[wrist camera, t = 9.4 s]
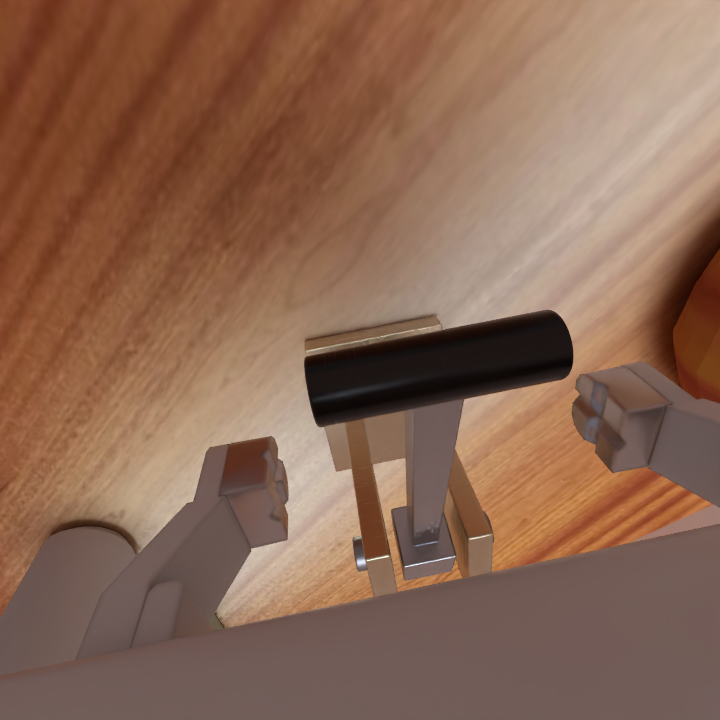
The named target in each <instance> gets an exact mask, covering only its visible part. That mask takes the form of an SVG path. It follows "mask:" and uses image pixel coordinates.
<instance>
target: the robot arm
mask: <svg viewBox="0 0 720 720" xmlns="http://www.w3.org/2000/svg"><path fill="white" fill-rule="evenodd" d="M575 389H576V390H577V391H578V392H579V394H580V395H579V396H578V397H577V399H576V400H575V401H574V402H573V406H572V417H573V421H574V425H575V427H576V429H577V431H578V432H579V434H580V435H581V436H582V437H583V439H584V440H586V441H589V442H591V443H593V444H595V445H596V448H595V453H596V454H597V455H598V457H599V458H600V459H601V460H602V461H603V462H604V464H605V465H606V466H607V467H608V468H609V470H610V471H611V472H612V473H615V472H620V471H626V470H631V469H637V468H643V467H648V466H649V467H648V468H649V469H651V470H652V471H654V472H656V473H658V474H660V475H662V476H663V477H665V478H667V479H669V480H671V481H672V482H674V483H676V484H678V485H680V486H682V487H683V488H685V489H687V490H689V491H691V492H692V493H694V494H696V495H698V496H700V497H702V498H703V499H705V500H707V501H709V502H711V503H713V504H714V505H716V506H718V507H720V403H716V402H713V401H710V400H707V399H698V400H696V399H695V398H694V397H692V396H691V395H690V394H688V393H687V392H686V391H684V390H683V389H682V388H680V387H679V386H678V385H676V384H675V383H674V382H672V381H671V380H670V379H668V378H667V377H666V376H664V375H663V374H662V373H660V372H659V371H658V370H656V369H655V368H654V367H652V366H651V365H650V364H649V363H646V362H642V361H640V362H635V363H631V364H626V365H622V366H620V367H614V368H609V369H605V370H600V371H595V372H590V373H585V374H580V375H579V377H578V378H577V380H576V386H575ZM287 501H288V481H287V475H286V471H285V467H284V464H283V461H281V460H280V459H278V447H277V444H276V442H275V439H274V438H273V437H272V436H269V437H264V438H258V439H252V440H247V441H241V442H235V443H231V444H226V445H220V446H215V447H210V448H209V449H208V450H207V452H206V455H205V459H204V463H203V466H202V470H201V474H200V478H199V482H198V486H197V490H196V494H195V498H194V501H193V502H190V503H187V504H186V505H185V506H184V507H183V508H182V509H181V510H180V511H179V512H178V513H177V514H176V515H175V516H174V517H173V518H172V520H171V521H170V522H169V523H168V524H167V525H166V526H165V527H164V528H163V529H162V530H161V531H160V532H159V533H158V534H157V535H156V536H155V537H154V538H153V539H152V540H151V542H150V543H149V544H148V545H147V546H146V547H145V548H144V549H143V550H142V551H141V552H140V553H139V554H138V555H137V556H136V557H135V558H134V559H133V560H132V561H131V563H130V564H129V565H128V566H127V567H126V568H125V569H124V570H123V571H122V572H121V573H120V574H119V575H118V576H117V577H116V578H115V579H114V580H113V581H112V582H111V584H110V585H109V586H108V587H107V588H106V589H105V590H104V591H103V592H102V593H101V595H100V597H99V600H98V603H97V605H96V608H95V610H94V613H93V615H92V618H91V620H90V623H89V625H88V628H87V630H86V633H85V635H84V638H83V640H82V643H81V645H80V648H79V650H78V653H77V655H76V658H75V660H73V661H69V662H64V663H59V664H54V665H50V666H45V667H40V668H36V669H31V670H26V671H21V672H17V673H12V674H7V675H3V676H0V720H720V524H717V525H713V526H707V527H702V528H698V529H693V530H688V531H684V532H679V533H674V534H670V535H665V536H660V537H656V538H651V539H647V540H641V541H637V542H632V543H627V544H623V545H618V546H613V547H608V548H604V549H599V550H594V551H590V552H585V553H580V554H576V555H571V556H566V557H561V558H557V559H552V560H547V561H542V562H538V563H533V564H528V565H523V566H519V567H514V568H509V569H504V570H500V571H495V572H490V573H485V574H481V575H476V576H471V577H466V578H462V579H457V580H452V581H447V582H443V583H438V584H433V585H428V586H424V587H419V588H414V589H409V590H405V591H400V592H395V593H390V594H386V595H381V596H376V597H372V598H367V599H362V600H357V601H353V602H348V603H343V604H338V605H334V606H329V607H324V608H319V609H315V610H310V611H305V612H301V613H296V614H291V615H286V616H282V617H277V618H272V619H267V620H263V621H258V622H253V623H248V624H244V625H239V626H234V627H230V628H225V629H220V630H214V629H213V627H212V626H211V624H210V623H209V621H210V619H211V617H212V616H213V614H214V612H215V611H216V609H217V607H218V606H219V604H220V602H221V601H222V599H223V597H224V596H225V594H226V592H227V591H228V589H229V587H230V586H231V584H232V582H233V581H234V579H235V577H236V575H237V574H238V572H239V570H240V569H241V567H242V565H243V564H244V562H245V560H246V559H247V557H248V555H249V554H250V552H251V548H255V547H260V546H264V545H268V544H272V543H277V542H281V541H285V540H287V539H288V514H287V511H286V508H285V504H286V502H287Z"/></svg>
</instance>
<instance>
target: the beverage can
mask: <svg viewBox="0 0 720 720" xmlns="http://www.w3.org/2000/svg"><path fill="white" fill-rule="evenodd" d="M134 558H135V552H134V550H133V548H132V547H131V546H130V544H129V543H128V542H127V540H126V539H125V538H124V537H123V536H122V535H120V534H119V533H117V532H115V531H112V530H110V529H106V528H102V527H95V526H83V527H77V528H73V529H68V530H64V531H61V532H58V533H56V534H54V535H52V536H50V537H49V538H48V539H47V540H46V541H45V542H44V543H43V544H42V546H41V548H40V550H39V551H38V553H37V555H36V557H35V558H34V560H33V562H32V564H31V565H30V567H29V569H28V571H27V572H26V574H25V576H24V578H23V579H22V581H21V583H20V585H19V586H18V588H17V590H16V592H15V593H14V595H13V597H12V599H11V600H10V602H9V604H8V606H7V607H6V609H5V611H4V613H3V614H2V616H1V618H0V676H3V675H7V674H12V673H17V672H21V671H26V670H31V669H36V668H40V667H45V666H50V665H54V664H59V663H64V662H69V661H73V660H75V658H76V655H77V653H78V650H79V648H80V645H81V643H82V640H83V638H84V635H85V633H86V630H87V628H88V625H89V623H90V620H91V618H92V615H93V613H94V610H95V608H96V605H97V603H98V600H99V597H100V595H101V593H102V592H103V591H104V590H105V589H106V588H107V587H108V586H109V585H110V584H111V582H112V581H113V580H114V579H115V578H116V577H117V576H118V575H119V574H120V573H121V572H122V571H123V570H124V569H125V568H126V567H127V566H128V565H129V564H130V563H131V561H132V560H133V559H134Z"/></svg>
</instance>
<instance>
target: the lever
mask: <svg viewBox="0 0 720 720" xmlns="http://www.w3.org/2000/svg"><path fill="white" fill-rule="evenodd" d="M572 365H573V346H572V341H571V337H570V334H569V331H568V328H567V326H566V324H565V323H564V321H563V319H562V318H561V317H560V316H559V315H558V314H557V313H556V312H554V311H552V310H543V311H537V312H532V313H527V314H522V315H517V316H512V317H507V318H501V319H496V320H491V321H486V322H481V323H476V324H470V325H465V326H460V327H455V328H450V329H445V330H439V331H434V332H429V333H424V334H419V335H414V336H409V337H403V338H398V339H393V340H388V341H383V342H378V343H372V344H367V345H362V346H357V347H352V348H347V349H342V350H336V351H331V352H326V353H321V354H316V355H311V356H307V357H305V361H304V368H305V377H306V384H307V390H308V395H309V400H310V405H311V409H312V413H313V416H314V419H315V422H316V424H317V426H318V427H326V426H331V425H336V424H341V423H346V422H351V421H356V420H361V419H366V418H371V417H376V416H381V415H386V414H391V413H396V412H401V411H404V422H405V457H406V492H407V506H403V507H398V508H394V509H391V514H392V522H393V530H394V534H395V539H396V544H397V549H398V553H399V558H400V563H401V568H402V572H403V577H404V580H405V581H407V580H412V579H417V578H421V577H426V576H431V575H436V574H440V573H445V572H450V571H452V568H453V565H454V562H455V559H456V552H455V548H454V545H453V541H452V538H451V534H450V531H449V527H448V524H447V521H446V517H445V514H444V506H445V500H446V495H447V489H448V484H449V478H450V473H451V467H452V462H453V456H454V451H455V445H456V440H457V434H458V429H459V423H460V418H461V412H462V407H463V401H464V399H467V398H472V397H477V396H482V395H487V394H492V393H497V392H502V391H507V390H512V389H517V388H522V387H527V386H532V385H537V384H542V383H547V382H552V381H557V380H562V379H564V378H565V377H567V376H568V375H569V373H570V371H571V369H572Z"/></svg>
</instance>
